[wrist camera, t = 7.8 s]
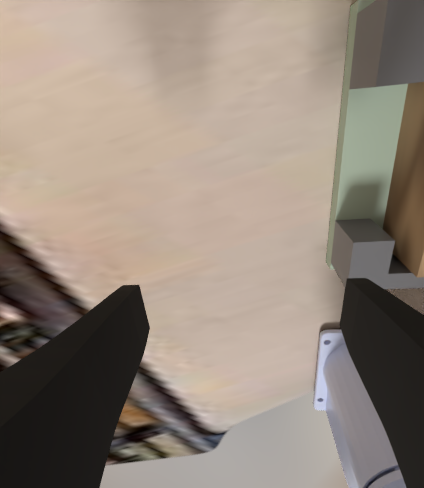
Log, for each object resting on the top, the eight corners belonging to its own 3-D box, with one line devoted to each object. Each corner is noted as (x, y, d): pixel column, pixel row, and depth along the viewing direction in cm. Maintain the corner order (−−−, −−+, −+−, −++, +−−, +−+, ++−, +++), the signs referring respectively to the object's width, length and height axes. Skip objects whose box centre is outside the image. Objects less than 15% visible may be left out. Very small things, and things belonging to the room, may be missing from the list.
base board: (451, 256, 19) (462, 264, 18) (326, 261, 20) (330, 269, 19) (540, -21, 12) (564, -30, 12) (350, 6, 13) (358, -1, 12)
